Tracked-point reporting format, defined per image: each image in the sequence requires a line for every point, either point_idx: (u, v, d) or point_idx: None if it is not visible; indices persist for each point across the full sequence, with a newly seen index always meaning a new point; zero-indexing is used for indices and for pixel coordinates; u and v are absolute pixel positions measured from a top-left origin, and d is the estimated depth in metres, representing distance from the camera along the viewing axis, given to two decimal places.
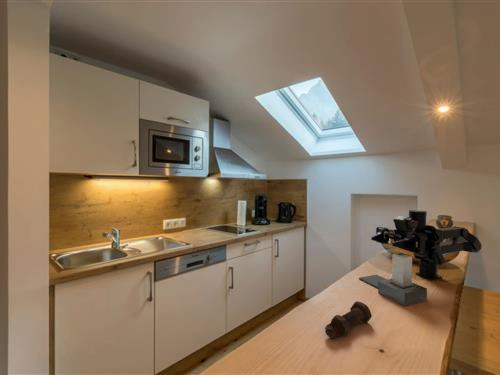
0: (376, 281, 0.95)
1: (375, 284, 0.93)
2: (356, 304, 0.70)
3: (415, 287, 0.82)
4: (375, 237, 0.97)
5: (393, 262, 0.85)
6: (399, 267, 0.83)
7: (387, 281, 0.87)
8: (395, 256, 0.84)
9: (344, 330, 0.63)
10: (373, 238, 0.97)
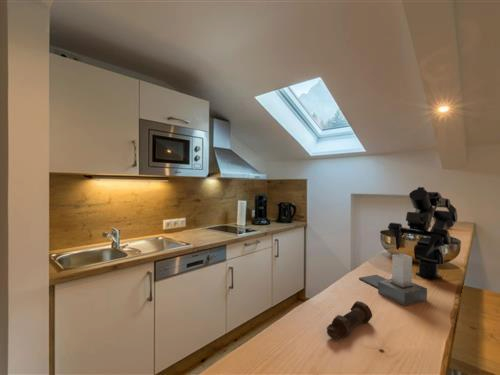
0: (376, 281, 0.95)
1: (375, 284, 0.93)
2: (357, 304, 0.70)
3: (415, 287, 0.82)
4: (398, 244, 0.93)
5: (393, 262, 0.85)
6: (398, 267, 0.83)
7: (387, 281, 0.87)
8: (395, 256, 0.84)
9: (346, 330, 0.62)
10: (398, 247, 0.93)
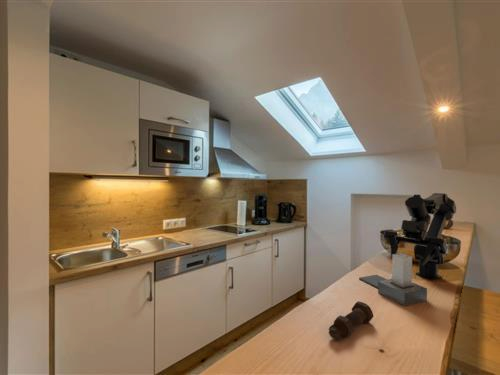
0: (376, 281, 0.95)
1: (375, 284, 0.93)
2: (358, 304, 0.70)
3: (415, 287, 0.82)
4: (394, 253, 0.91)
5: (393, 262, 0.85)
6: (399, 267, 0.83)
7: (387, 281, 0.87)
8: (395, 256, 0.84)
9: (347, 331, 0.62)
10: None
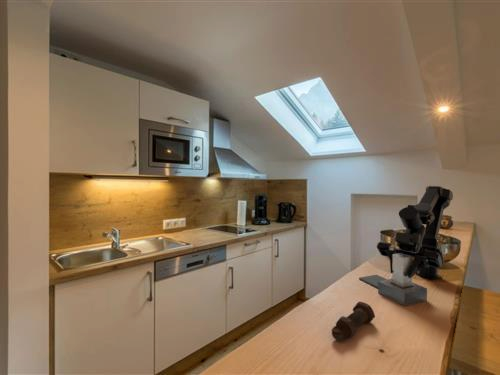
0: (376, 281, 0.95)
1: (375, 284, 0.93)
2: (359, 304, 0.70)
3: (415, 287, 0.82)
4: None
5: (393, 262, 0.85)
6: (399, 267, 0.83)
7: (387, 281, 0.87)
8: (395, 256, 0.84)
9: (350, 332, 0.62)
10: None
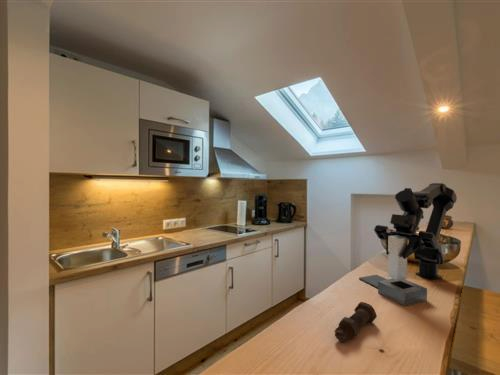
0: (376, 281, 0.95)
1: (375, 284, 0.93)
2: (361, 305, 0.70)
3: (415, 287, 0.82)
4: None
5: (389, 243, 0.86)
6: (394, 248, 0.84)
7: (387, 281, 0.87)
8: (391, 237, 0.86)
9: (353, 332, 0.62)
10: None
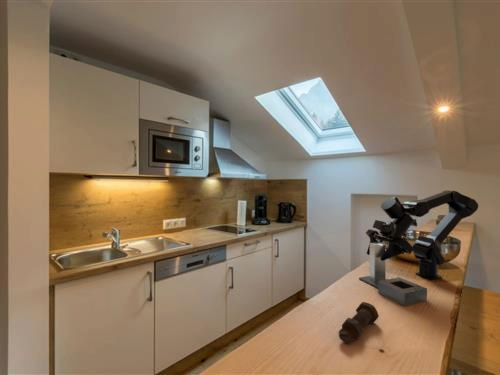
0: None
1: (375, 284, 0.93)
2: (363, 305, 0.70)
3: (415, 287, 0.82)
4: None
5: (370, 250, 0.97)
6: (372, 254, 0.95)
7: (387, 281, 0.87)
8: (371, 244, 0.97)
9: (357, 333, 0.61)
10: (369, 252, 0.99)
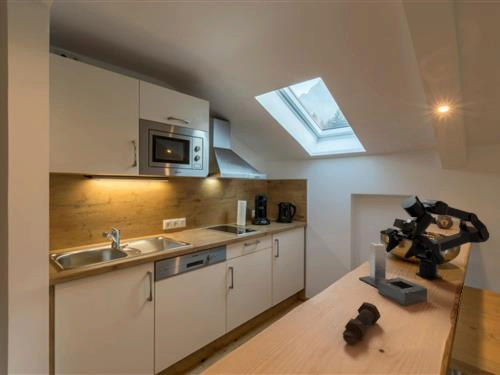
0: None
1: (375, 284, 0.93)
2: (364, 305, 0.70)
3: (415, 287, 0.82)
4: (389, 248, 1.02)
5: (370, 250, 0.97)
6: (373, 254, 0.95)
7: (387, 281, 0.87)
8: (371, 244, 0.97)
9: (361, 334, 0.61)
10: (388, 250, 1.02)
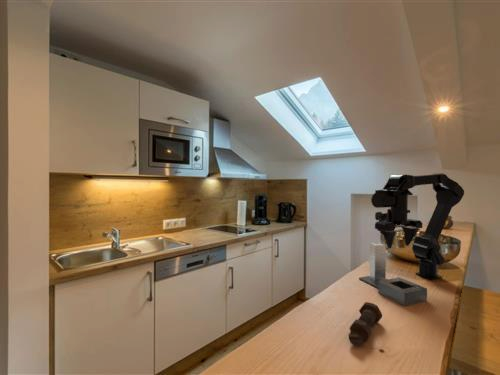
0: None
1: (375, 284, 0.93)
2: (366, 305, 0.70)
3: (415, 287, 0.82)
4: (406, 241, 1.00)
5: (370, 250, 0.97)
6: (373, 254, 0.95)
7: (387, 281, 0.87)
8: (371, 244, 0.97)
9: (367, 335, 0.61)
10: (406, 243, 0.99)
